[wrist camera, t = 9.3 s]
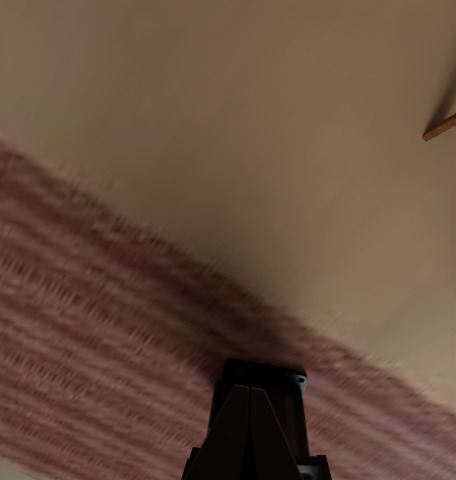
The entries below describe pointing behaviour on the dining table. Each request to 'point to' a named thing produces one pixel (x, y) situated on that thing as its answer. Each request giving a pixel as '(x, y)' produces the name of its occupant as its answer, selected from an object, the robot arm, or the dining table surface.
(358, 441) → the dining table surface
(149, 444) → the dining table surface
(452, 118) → the glasses
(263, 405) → the robot arm
